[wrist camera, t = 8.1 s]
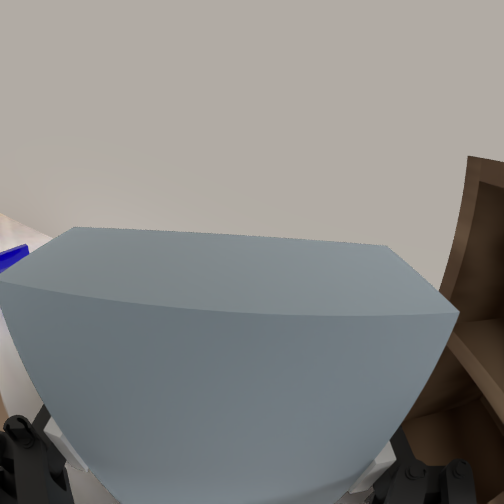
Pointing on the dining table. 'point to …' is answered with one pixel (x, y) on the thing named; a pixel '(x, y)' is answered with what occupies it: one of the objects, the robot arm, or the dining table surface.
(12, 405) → the dining table surface
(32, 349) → the upright grey-blue slab
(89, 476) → the dining table surface
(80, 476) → the dining table surface
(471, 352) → the cabinet
